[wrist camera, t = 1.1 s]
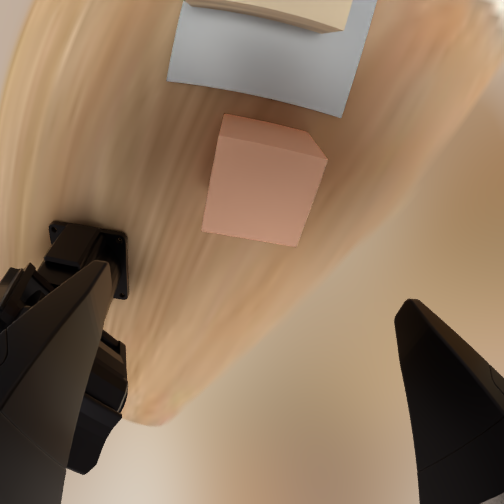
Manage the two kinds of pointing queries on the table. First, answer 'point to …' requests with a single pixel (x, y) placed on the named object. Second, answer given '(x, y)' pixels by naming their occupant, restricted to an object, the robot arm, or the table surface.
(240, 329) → the table surface
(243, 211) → the top brick
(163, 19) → the table surface
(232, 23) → the build plate
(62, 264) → the robot arm
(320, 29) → the base brick
